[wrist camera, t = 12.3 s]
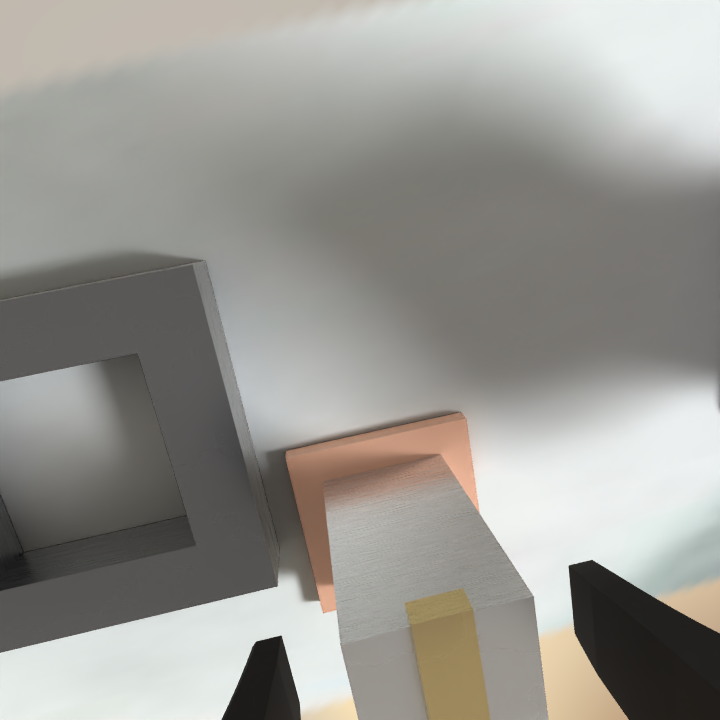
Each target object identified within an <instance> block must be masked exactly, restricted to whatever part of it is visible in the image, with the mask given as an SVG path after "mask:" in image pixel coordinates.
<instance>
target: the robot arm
mask: <svg viewBox="0 0 720 720" xmlns="http://www.w3.org/2000/svg"><path fill="white" fill-rule="evenodd" d="M569 576H570V587H571V597H572V608H573V619H574V630H575V634H576V636H577V638H578V640H579V642H580V644H581V646H582V647H583V649H584V651H585V653H586V655H587V657H588V659H589V660H590V662H591V664H592V666H593V667H594V669H595V671H596V673H597V674H598V676H599V677H600V679H601V680H602V682H603V683H604V685H605V686H606V687H607V689H608V690H609V692H610V693H611V695H612V696H613V698H614V699H615V700H616V702H617V703H618V705H619V706H620V708H621V709H622V710H623V712H624V713H625V715H626V716H627V717H628V719H629V720H720V633H718V632H716V631H714V630H712V629H710V628H708V627H706V626H704V625H702V624H700V623H699V622H696V621H695V620H693V619H691V618H689V617H687V616H686V615H684V614H682V613H680V612H678V611H677V610H675V609H673V608H671V607H669V606H668V605H666V604H664V603H663V602H661V601H659V600H657V599H656V598H654V597H652V596H651V595H649V594H647V593H646V592H644V591H642V590H641V589H639V588H637V587H636V586H634V585H632V584H631V583H629V582H627V581H626V580H624V579H623V578H621V577H619V576H618V575H616V574H614V573H613V572H611V571H610V570H608V569H606V568H605V567H603V566H601V565H600V564H598V563H596V562H595V561H593V560H590V561H586V562H582V563H578V564H573V565H569ZM222 720H301V716H300V702H299V699H298V695H297V691H296V687H295V684H294V680H293V676H292V673H291V669H290V665H289V662H288V658H287V654H286V650H285V647H284V643H283V639H282V636H278V637H273V638H269V639H265V640H261V641H257V642H256V643H255V644H254V646H253V647H252V650H251V653H250V655H249V658H248V660H247V663H246V666H245V668H244V670H243V673H242V675H241V678H240V680H239V682H238V685H237V687H236V689H235V692H234V694H233V696H232V698H231V701H230V703H229V705H228V707H227V709H226V711H225V713H224V716H223V718H222Z"/></svg>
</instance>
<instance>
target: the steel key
mask: <svg viewBox="0 0 720 720" xmlns="http://www.w3.org/2000/svg"><path fill="white" fill-rule="evenodd" d="M322 482H323V491H324V500H325V509H326V518H327V527H328V537H329V546H330V555H331V564H332V573H333V582H334V591H335V600H336V609H337V618H338V627H339V636H340V645H341V649H342V653H343V657H344V661H345V666H346V670H347V674H348V678H349V682H350V686H351V690H352V695H353V699H354V703H355V707H356V711H357V715H358V719H359V720H548V712H547V704H546V696H545V688H544V679H543V671H542V662H541V655H540V646H539V637H538V629H537V621H536V612H535V604H534V596H533V595H532V593H531V592H530V590H529V588H528V587H527V585H526V584H525V582H524V581H523V579H522V578H521V576H520V575H519V573H518V572H517V570H516V569H515V567H514V565H513V564H512V562H511V561H510V559H509V558H508V556H507V555H506V553H505V552H504V550H503V549H502V547H501V546H500V544H499V543H498V541H497V539H496V538H495V536H494V535H493V533H492V532H491V530H490V529H489V527H488V526H487V524H486V523H485V521H484V520H483V518H482V517H481V515H480V513H479V512H478V510H477V509H476V507H475V506H474V504H473V503H472V501H471V500H470V498H469V497H468V495H467V494H466V492H465V491H464V489H463V487H462V486H461V484H460V483H459V481H458V480H457V478H456V477H455V475H454V474H453V472H452V471H451V469H450V468H449V466H448V464H447V463H446V461H445V460H444V458H443V457H442V455H441V454H439V455H434V456H430V457H426V458H421V459H417V460H413V461H408V462H404V463H400V464H395V465H391V466H387V467H382V468H378V469H374V470H369V471H365V472H361V473H356V474H352V475H348V476H343V477H339V478H335V479H330V480H326V481H322Z"/></svg>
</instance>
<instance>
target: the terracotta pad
mask: <svg viewBox="0 0 720 720" xmlns="http://www.w3.org/2000/svg"><path fill="white" fill-rule="evenodd" d="M439 454H441V455H442V457H443V458H444V460H445V461H446V463H447V464H448V466H449V468H450V469H451V471H452V472H453V474H454V475H455V477H456V478H457V480H458V481H459V483H460V484H461V486H462V487H463V489H464V491H465V492H466V494H467V495H468V497H469V498H470V500H471V501H472V503H473V504H474V506H475V507H476V509H477V510H478V512H479V506H478V499H477V492H476V485H475V478H474V470H473V463H472V456H471V449H470V442H469V435H468V428H467V420H466V418H465V416H464V415H463V414H462V413H461V412H459V413H455V414H450V415H446V416H441V417H437V418H432V419H428V420H423V421H419V422H414V423H410V424H405V425H400V426H396V427H391V428H387V429H382V430H378V431H373V432H369V433H364V434H360V435H355V436H351V437H346V438H342V439H337V440H333V441H328V442H323V443H319V444H314V445H310V446H305V447H301V448H296V449H292V450H287V451H286V462H287V466H288V470H289V474H290V479H291V483H292V487H293V491H294V495H295V499H296V503H297V508H298V512H299V516H300V520H301V524H302V528H303V532H304V537H305V541H306V545H307V549H308V553H309V557H310V561H311V566H312V570H313V574H314V578H315V582H316V586H317V590H318V595H319V599H320V603H321V607H322V611H323V613H326V612H330V611H334V610H337V609H336V600H335V591H334V582H333V573H332V564H331V555H330V546H329V537H328V527H327V518H326V509H325V500H324V491H323V482H322V481H326V480H330V479H335V478H339V477H343V476H348V475H352V474H356V473H361V472H365V471H369V470H374V469H378V468H382V467H387V466H391V465H395V464H400V463H404V462H408V461H413V460H417V459H421V458H426V457H430V456H434V455H439Z"/></svg>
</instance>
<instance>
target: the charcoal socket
mask: <svg viewBox="0 0 720 720" xmlns="http://www.w3.org/2000/svg"><path fill="white" fill-rule="evenodd" d="M137 353H138V356H139V360H140V363H141V366H142V369H143V373H144V376H145V379H146V383H147V386H148V389H149V392H150V396H151V399H152V402H153V406H154V409H155V412H156V415H157V419H158V422H159V425H160V429H161V432H162V435H163V438H164V442H165V445H166V448H167V451H168V455H169V458H170V461H171V465H172V468H173V471H174V474H175V478H176V481H177V484H178V488H179V491H180V494H181V497H182V501H183V504H184V507H185V511H186V514H187V516H183V517H178V518H174V519H170V520H165V521H161V522H156V523H152V524H148V525H143V526H139V527H134V528H130V529H125V530H121V531H117V532H112V533H108V534H103V535H99V536H95V537H90V538H86V539H81V540H77V541H73V542H68V543H64V544H59V545H55V546H50V547H46V548H42V549H37V550H33V551H28V552H24V553H23V550H22V548H21V545H20V543H19V541H18V538H17V536H16V533H15V531H14V528H13V526H12V523H11V521H10V518H9V516H8V513H7V511H6V508H5V506H4V504H3V501H2V499H1V496H0V653H1V652H5V651H9V650H13V649H18V648H22V647H26V646H30V645H34V644H38V643H43V642H47V641H51V640H55V639H59V638H63V637H68V636H72V635H76V634H80V633H84V632H89V631H93V630H97V629H101V628H105V627H109V626H114V625H118V624H122V623H126V622H130V621H135V620H139V619H143V618H147V617H151V616H155V615H160V614H164V613H168V612H172V611H176V610H181V609H185V608H189V607H193V606H197V605H201V604H206V603H210V602H214V601H218V600H222V599H227V598H231V597H235V596H239V595H243V594H247V593H252V592H256V591H260V590H264V589H268V588H273V587H277V586H278V568H279V545H278V541H277V537H276V533H275V529H274V526H273V522H272V518H271V514H270V510H269V506H268V502H267V498H266V494H265V491H264V487H263V483H262V479H261V475H260V471H259V467H258V463H257V460H256V456H255V452H254V448H253V444H252V440H251V436H250V432H249V428H248V425H247V421H246V417H245V413H244V409H243V405H242V401H241V397H240V394H239V390H238V386H237V382H236V378H235V374H234V370H233V366H232V362H231V359H230V355H229V351H228V347H227V343H226V339H225V335H224V331H223V327H222V324H221V320H220V316H219V312H218V308H217V304H216V300H215V296H214V293H213V289H212V285H211V281H210V277H209V273H208V269H207V265H206V261H205V260H204V261H199V262H194V263H189V264H183V265H178V266H173V267H168V268H163V269H157V270H152V271H147V272H142V273H137V274H131V275H126V276H121V277H116V278H111V279H105V280H100V281H95V282H90V283H85V284H79V285H74V286H69V287H64V288H59V289H53V290H48V291H43V292H38V293H33V294H27V295H22V296H17V297H12V298H7V299H1V300H0V381H4V380H9V379H14V378H19V377H24V376H29V375H34V374H39V373H43V372H48V371H53V370H58V369H63V368H68V367H73V366H78V365H83V364H88V363H93V362H98V361H103V360H107V359H112V358H117V357H122V356H127V355H132V354H137Z"/></svg>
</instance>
